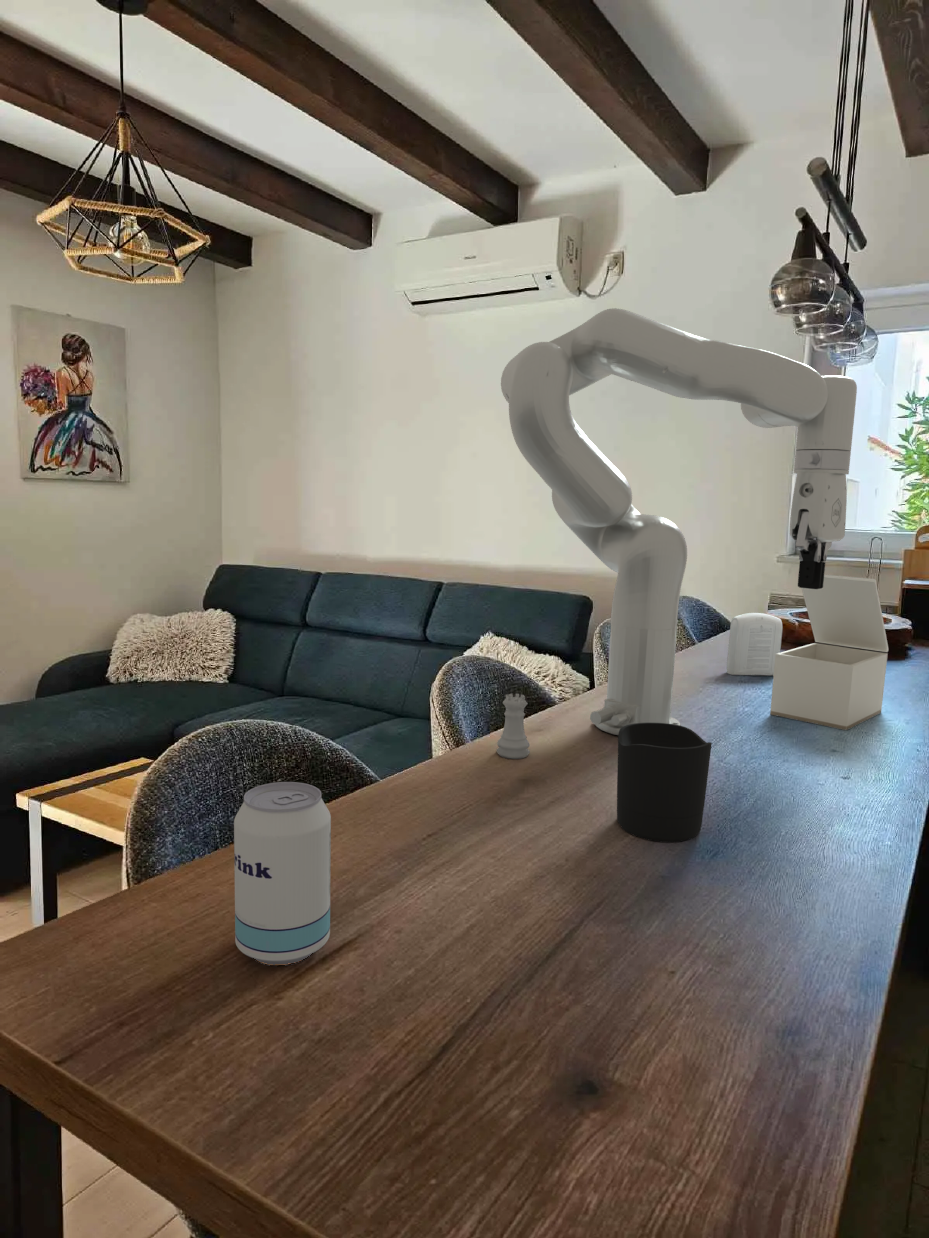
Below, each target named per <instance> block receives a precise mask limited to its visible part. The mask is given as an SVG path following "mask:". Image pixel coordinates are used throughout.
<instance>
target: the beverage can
mask: <svg viewBox="0 0 929 1238" xmlns="http://www.w3.org/2000/svg"><path fill="white" fill-rule="evenodd" d="M331 817H332V816H331V812H330V811H329V809H328V807H327V805H326V804H325V802H324V799H323V798H322V791H321V790H320V788H318V787H316V786H314V785H313V784H308V783H304V782H295V781H281V782H270V783H265V784H261V785H258V786H255V787H252V788H251V789H249V790H248V791H246V792H245V794H244V795H243V802H242V804H241V806H240V807H239V809H238V811H237V813H236V815H235V816H234V821H233V845H234V847H233V850H234V851H233V852H234V853H233V854H234V855H233V857H234V860H233V861H234V925H235V926H234V933H235V934H234V936H235V937H234V940H235V945H236V947H237V949H238V950H239V952H241V953H242V954H244V955H245V956H247V957H249V958H251V959H253V958H254V959H256V960H258V961H260V962H264V963H267V964H273V965H275V964H288V963H294V962H298V961H300V960H303V959H305V958H307V957H308V956H309V957H311V956H312V955H313V954H314V953H315V952H317V951H319V950H320V949H321V948H322V947H324V946H325V944H327V942H328V941H329V939H330V937H331V936H330V935H331V855H332V853H331V849H332V848H331V847H332V845H331V842H332V841H331V838H332V836H331V835H332V834H331V831H332V829H331V827H332V826H331V825H332V824H331V823H332V818H331ZM312 953H313V954H312ZM311 954H312V955H311ZM310 955H311V956H310ZM309 957H308V958H309ZM308 958H307V959H308ZM254 959H253V960H254ZM256 960H255V961H256ZM305 960H306V959H305ZM303 961H304V960H303ZM298 963H299V962H298Z"/></svg>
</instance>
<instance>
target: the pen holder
mask: <svg viewBox="0 0 929 1238" xmlns="http://www.w3.org/2000/svg"><path fill="white" fill-rule="evenodd" d="M617 736H618V737H617V771H616V774H617V775H616V776H617V777H616V779H617V782H616V784H617V785H616V819H617V820H616V821H617V823H618V824H619V826H620V827H621V829H622V830H623V831H625V832H626V833H629V834H630V835H632V836H634V835H635V836H634V837H638V838H641V839H643V838H645V839H644V840H648V839H649V840H648V841H653V840H656V841H655V842H660V841H662V843H679V842H680V843H681V842H685V840H686V841H689V840H692V839H693V838H695V837H696V836H697V835H698V834H699V833H700V831H701V830H702V824H703V815H704V810H705V809H704V808H705V802H706V794H707V786H708V777H709V768H710V759H711V752H712V744H713V743H712V742H710V741H709V742H708V741H707V742H706V741H705V740H704V739H703V738H702V737H701V736H700V735H699V734H697V733H696V732H695V731H693V729H691V728H688V727H686V726H683V725H681V726H680V725H675V724H667V723H635V724H629V725H626V726H623V727H622V728H621V729H620V730H619V734H618V735H617ZM691 838H692V839H691ZM688 839H689V840H688Z"/></svg>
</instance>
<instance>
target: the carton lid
mask: <svg viewBox="0 0 929 1238" xmlns="http://www.w3.org/2000/svg"><path fill="white" fill-rule="evenodd" d="M798 576H799V573H798ZM798 576H797V577H798ZM801 591H802V595H803V596H802V597H803V599H804V604H805V607H806V611H807V616H808V619H809V623H810V626H811V629H812V630H811V631H812V634H813V637H814V643H818V644H825V645H832V646H839V647H846V648H853V649H860V650H867V651H874V652H881V653H888V652H889V644H888V640H887V639H888V638H887V634H886V633H887V632H886V628H885V627H886V626H885V622H884V617H883V613H882V605H881V602H880V601H881V600H880V596H879V590H878V586H877V580H876V578H869V577H868V578H867V577H856V576H847V575H846V576H845V575H844V576H843V575H833V574H824V582H823V588H821V589H808V588H801Z"/></svg>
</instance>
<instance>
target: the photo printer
mask: <svg viewBox="0 0 929 1238" xmlns="http://www.w3.org/2000/svg"><path fill="white" fill-rule="evenodd" d="M729 626H730V627H729V637H728V645H727V646H728V647H727V648H728V649H727V658H726V659H727V660H726V673H727V674H728V675H732V676H768V677H769V676H771V677H772V676H773V677H774V665H775V654H777V653H781V646H782V637H783V629H784V628H783V622H782V619H781V618H780V617H778V616H776V615H772V614H768V613H763V612H748V613H743V614H739V615H735V616H734V617H732V619H731V621H730V625H729Z"/></svg>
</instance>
